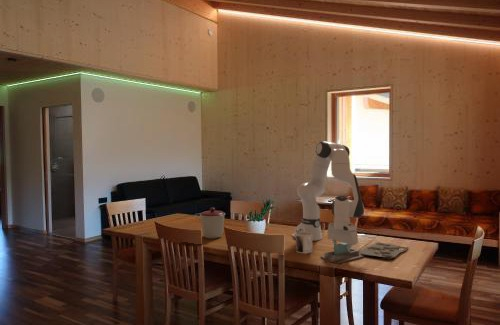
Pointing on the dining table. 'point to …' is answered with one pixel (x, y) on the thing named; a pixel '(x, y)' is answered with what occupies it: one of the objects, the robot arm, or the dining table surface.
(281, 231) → the dining table surface
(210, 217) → the canister
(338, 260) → the track sill
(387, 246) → the stone relief
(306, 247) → the mug
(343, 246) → the teal box
